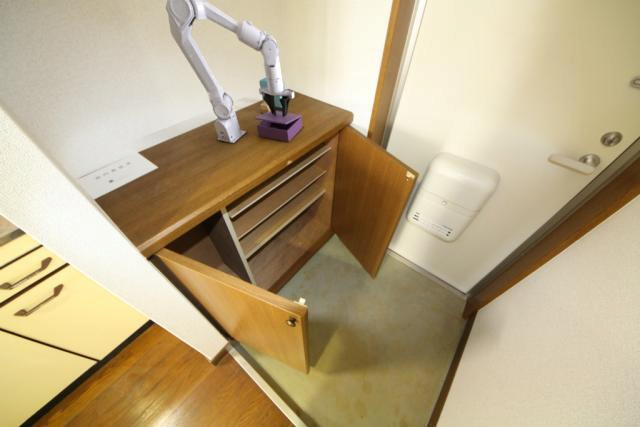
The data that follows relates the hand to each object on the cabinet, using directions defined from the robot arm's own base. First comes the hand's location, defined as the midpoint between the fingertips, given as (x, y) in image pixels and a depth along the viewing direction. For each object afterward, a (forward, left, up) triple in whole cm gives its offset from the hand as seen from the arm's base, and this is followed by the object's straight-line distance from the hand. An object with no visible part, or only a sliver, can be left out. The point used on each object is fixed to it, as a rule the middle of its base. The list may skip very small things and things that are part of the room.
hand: (279, 114), depth 92 cm
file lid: (-1, 0, -1) cm, 2 cm away
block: (+14, +16, -7) cm, 23 cm away
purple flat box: (-1, 0, -7) cm, 7 cm away
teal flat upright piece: (+22, +16, -7) cm, 28 cm away
